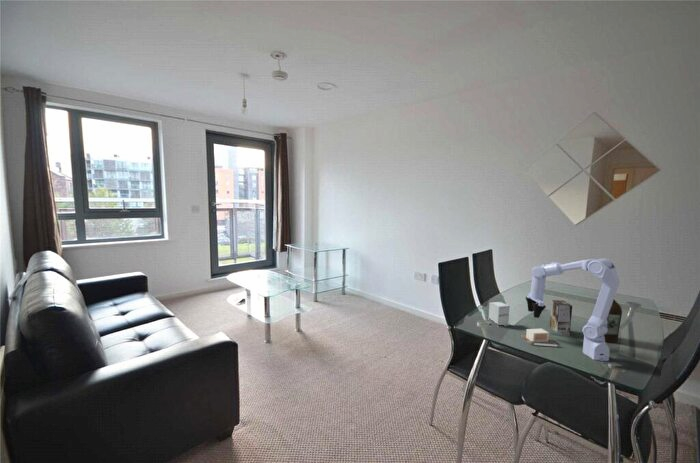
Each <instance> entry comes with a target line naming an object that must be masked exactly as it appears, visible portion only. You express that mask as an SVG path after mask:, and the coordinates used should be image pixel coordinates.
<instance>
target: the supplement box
mask: <svg viewBox="0 0 700 463" xmlns="http://www.w3.org/2000/svg"><path fill="white" fill-rule="evenodd" d="M510 308H511V307H510V304H506V303H504V302H502V301H495V302H489V306H488V319H489V318H490V319H491V320H493V321H494V322H495V323H497V324H499V325H504V326H503V327H508V326H509V321H510V320H509V318H510Z"/></svg>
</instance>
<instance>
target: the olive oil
mask: <svg viewBox="0 0 700 463" xmlns="http://www.w3.org/2000/svg"><path fill="white" fill-rule="evenodd" d="M622 315H623V309H622V307H621V305H620V304H619V302H617V301H616V300H615V299H614V300H613V303H612V305H611V308H610V311H609V314H608V317H607V322H608V323H607V328H608V332H607V333H606V334H605V335H604V337H605V343H611V344H612V343H613V344H614V343H617V342H618V339H619V334H620V328H621V320H622Z"/></svg>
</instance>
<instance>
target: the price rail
mask: <svg viewBox="0 0 700 463" xmlns="http://www.w3.org/2000/svg"><path fill="white" fill-rule="evenodd" d="M534 345H536V346H538V347H548V346H549V348H560V347H561V346H560V343H558V342H555V343H549V342H535V341H531V345H530V346H534ZM559 346H560V347H559Z"/></svg>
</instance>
